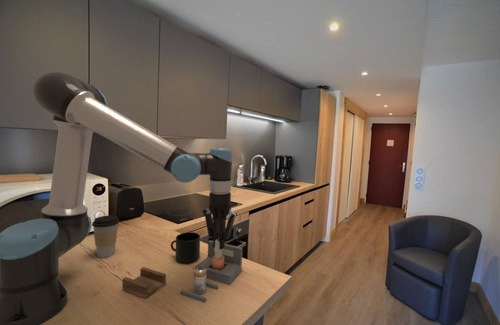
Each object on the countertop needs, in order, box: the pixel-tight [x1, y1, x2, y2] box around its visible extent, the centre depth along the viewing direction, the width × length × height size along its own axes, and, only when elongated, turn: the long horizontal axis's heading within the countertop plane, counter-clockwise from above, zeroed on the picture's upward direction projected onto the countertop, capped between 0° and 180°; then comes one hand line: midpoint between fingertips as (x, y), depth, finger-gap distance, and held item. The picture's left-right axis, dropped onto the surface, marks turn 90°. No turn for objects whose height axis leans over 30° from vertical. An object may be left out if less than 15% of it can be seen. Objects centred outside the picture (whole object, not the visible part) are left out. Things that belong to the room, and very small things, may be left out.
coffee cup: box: [91, 214, 120, 258], centre depth 94 cm, size 9×9×15 cm
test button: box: [212, 255, 224, 271], centre depth 83 cm, size 4×4×4 cm
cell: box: [192, 266, 207, 296], centre depth 73 cm, size 4×4×8 cm
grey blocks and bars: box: [179, 240, 243, 303], centre depth 79 cm, size 20×14×9 cm
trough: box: [121, 266, 167, 299], centre depth 74 cm, size 8×10×3 cm
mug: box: [170, 231, 201, 264], centre depth 94 cm, size 9×12×9 cm
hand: (218, 256), depth 83 cm, fingers closed
